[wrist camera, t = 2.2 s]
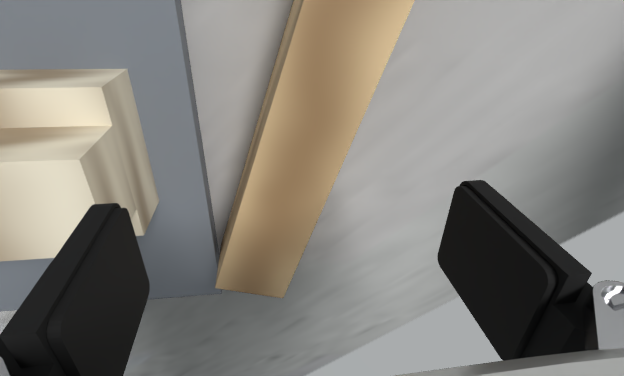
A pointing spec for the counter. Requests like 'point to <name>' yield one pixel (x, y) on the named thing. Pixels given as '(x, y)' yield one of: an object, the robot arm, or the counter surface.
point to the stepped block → (68, 156)
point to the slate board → (153, 118)
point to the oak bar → (304, 135)
